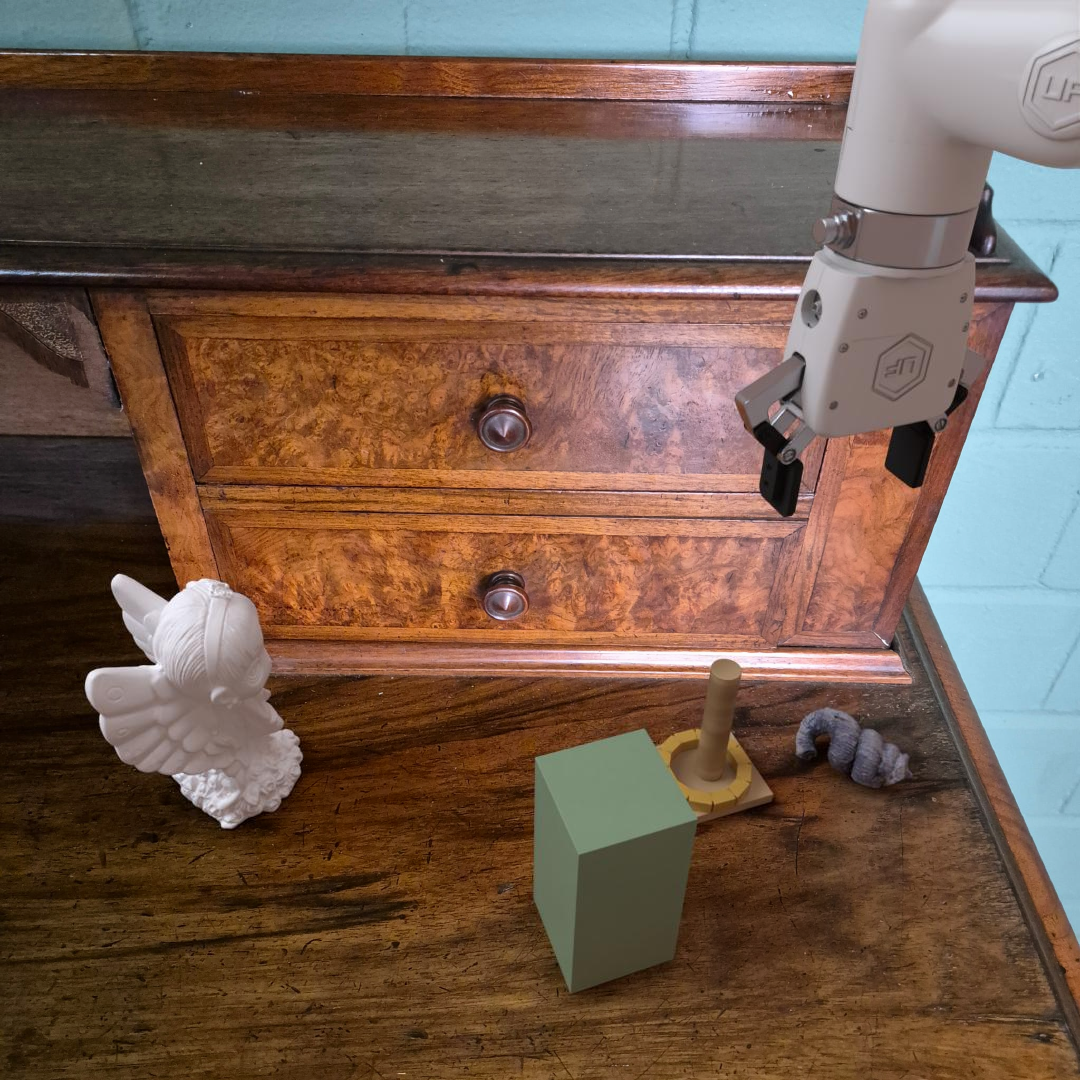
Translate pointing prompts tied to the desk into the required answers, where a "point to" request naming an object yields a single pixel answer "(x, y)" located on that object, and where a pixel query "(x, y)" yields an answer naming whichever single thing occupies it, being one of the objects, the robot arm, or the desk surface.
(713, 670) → the post
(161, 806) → the desk surface
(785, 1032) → the desk surface
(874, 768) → the seashell
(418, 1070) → the desk surface
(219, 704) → the cherub figurine
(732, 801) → the ring
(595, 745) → the stand
